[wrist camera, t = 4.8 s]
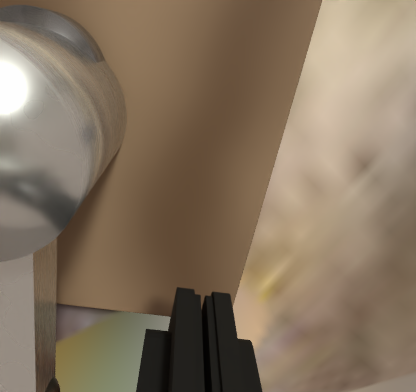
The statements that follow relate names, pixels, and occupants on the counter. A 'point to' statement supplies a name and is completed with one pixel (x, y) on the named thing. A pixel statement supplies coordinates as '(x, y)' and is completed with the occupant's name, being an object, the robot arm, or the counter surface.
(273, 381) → the counter surface
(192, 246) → the lever stand
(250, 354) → the robot arm
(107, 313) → the counter surface
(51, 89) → the crank handle
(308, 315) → the counter surface
